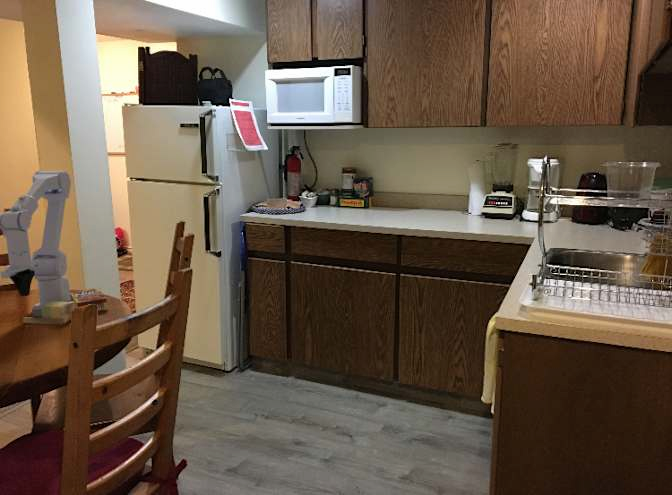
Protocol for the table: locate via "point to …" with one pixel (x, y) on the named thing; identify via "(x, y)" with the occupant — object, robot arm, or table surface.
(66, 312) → the tan l-frame
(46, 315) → the olive book
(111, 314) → the table surface
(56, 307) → the yellow thick square block
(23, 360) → the table surface
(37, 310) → the bookend
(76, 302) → the candy box
